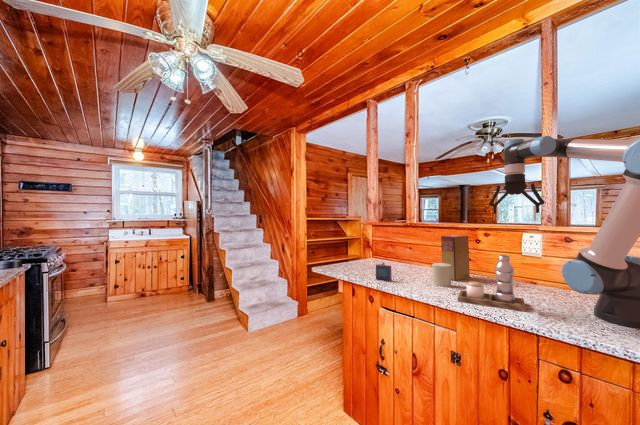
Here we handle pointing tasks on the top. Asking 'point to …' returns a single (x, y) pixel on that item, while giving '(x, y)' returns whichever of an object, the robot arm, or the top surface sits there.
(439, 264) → the can
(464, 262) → the food packaging
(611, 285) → the robot arm
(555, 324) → the top surface
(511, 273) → the plastic bottle
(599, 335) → the top surface
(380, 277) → the flask
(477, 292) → the jar
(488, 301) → the caddy
